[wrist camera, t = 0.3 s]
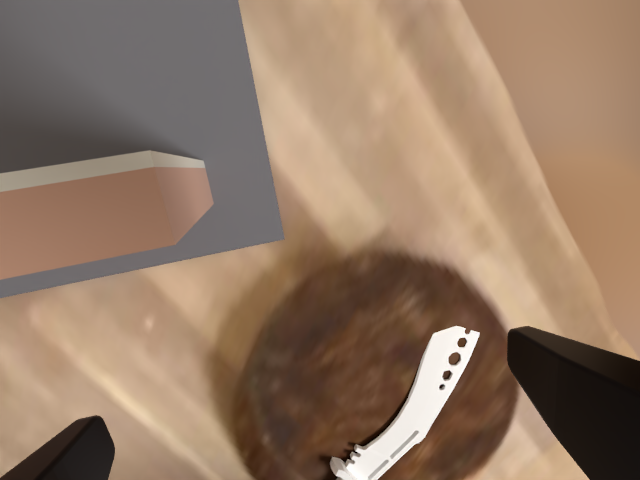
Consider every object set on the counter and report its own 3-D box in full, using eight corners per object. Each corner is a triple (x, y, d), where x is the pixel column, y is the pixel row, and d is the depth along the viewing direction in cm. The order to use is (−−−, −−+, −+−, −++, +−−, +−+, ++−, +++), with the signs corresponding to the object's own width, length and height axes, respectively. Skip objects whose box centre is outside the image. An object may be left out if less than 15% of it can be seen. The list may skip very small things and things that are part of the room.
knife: (495, 228, 26) (511, 231, 24) (540, 273, 27) (559, 279, 26) (231, 558, 25) (230, 583, 24) (292, 586, 27) (296, 611, 25)
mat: (283, 237, 21) (284, 239, 21) (-9, 297, 19) (-17, 301, 18) (224, -67, 18) (223, -75, 17) (-150, -44, 15) (-165, -52, 15)
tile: (213, 203, 20) (175, 245, 9) (37, 236, 18) (-253, 330, 8) (203, 160, 19) (149, 150, 8) (21, 190, 18) (-317, 222, 7)
